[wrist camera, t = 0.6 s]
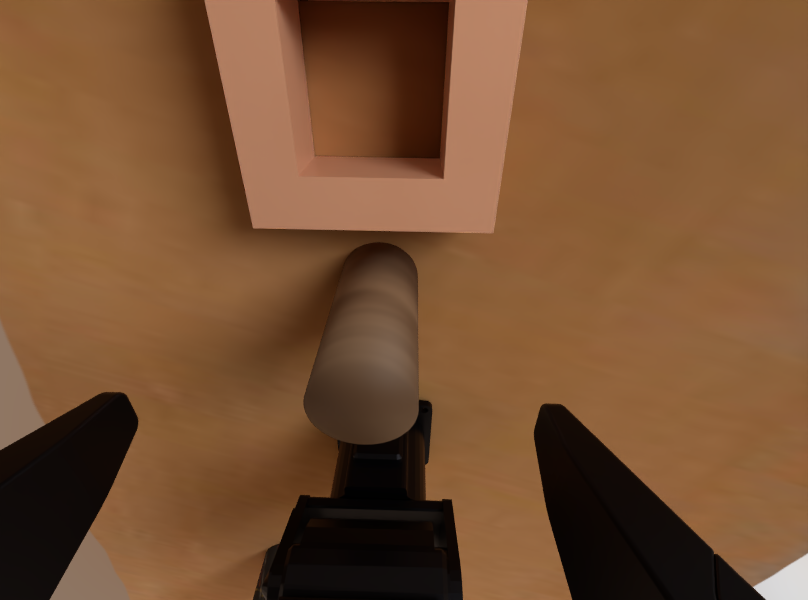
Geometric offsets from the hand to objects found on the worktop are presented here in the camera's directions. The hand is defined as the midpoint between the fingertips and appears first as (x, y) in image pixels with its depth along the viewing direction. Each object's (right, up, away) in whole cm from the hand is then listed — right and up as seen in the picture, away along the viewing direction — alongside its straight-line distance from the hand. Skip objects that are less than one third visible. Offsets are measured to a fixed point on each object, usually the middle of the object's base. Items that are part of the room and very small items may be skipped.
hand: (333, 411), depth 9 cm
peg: (0, +4, +13) cm, 13 cm away
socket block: (0, +11, +8) cm, 14 cm away
